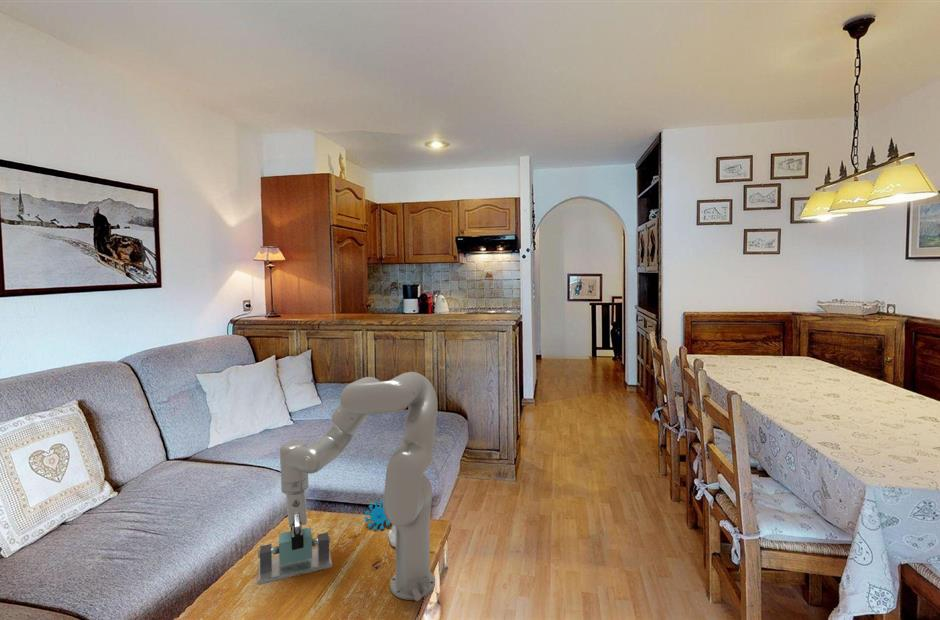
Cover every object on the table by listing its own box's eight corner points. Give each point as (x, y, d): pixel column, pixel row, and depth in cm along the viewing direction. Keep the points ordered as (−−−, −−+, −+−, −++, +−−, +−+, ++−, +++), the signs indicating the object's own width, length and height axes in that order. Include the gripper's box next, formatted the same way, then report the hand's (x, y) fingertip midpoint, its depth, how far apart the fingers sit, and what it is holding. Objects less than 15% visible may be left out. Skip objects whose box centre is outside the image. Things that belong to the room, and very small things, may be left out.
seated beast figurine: (416, 535, 150) (416, 501, 150) (411, 551, 142) (411, 514, 141) (389, 534, 151) (389, 499, 150) (382, 549, 142) (381, 512, 142)
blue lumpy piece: (360, 526, 153) (369, 496, 159) (363, 531, 157) (372, 502, 164) (391, 532, 152) (399, 502, 158) (393, 537, 156) (401, 508, 163)
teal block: (312, 558, 132) (311, 536, 132) (279, 565, 129) (279, 543, 129) (310, 547, 138) (310, 527, 137) (279, 554, 134) (278, 533, 134)
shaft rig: (332, 567, 133) (331, 543, 133) (258, 584, 125) (257, 559, 125) (328, 549, 142) (328, 527, 142) (259, 564, 134) (258, 541, 134)
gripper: (310, 493, 126) (312, 552, 127) (306, 470, 142) (308, 523, 142) (281, 498, 123) (283, 559, 124) (281, 475, 139) (283, 528, 139)
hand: (297, 539), depth 133 cm, fingers open, 9 cm apart
